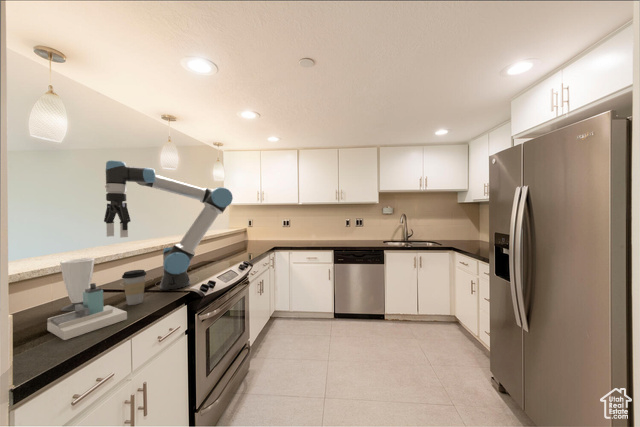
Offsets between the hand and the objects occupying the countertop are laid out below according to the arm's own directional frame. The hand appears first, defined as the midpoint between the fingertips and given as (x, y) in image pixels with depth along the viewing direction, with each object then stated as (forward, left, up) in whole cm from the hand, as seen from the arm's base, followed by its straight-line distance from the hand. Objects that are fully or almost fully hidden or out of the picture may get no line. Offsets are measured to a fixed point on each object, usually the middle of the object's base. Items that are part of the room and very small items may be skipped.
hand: (117, 236), depth 116 cm
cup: (+11, -10, -32) cm, 35 cm away
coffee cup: (-3, +9, -32) cm, 33 cm away
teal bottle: (+15, +17, -32) cm, 39 cm away
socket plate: (+17, +19, -32) cm, 41 cm away
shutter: (+22, +17, -28) cm, 39 cm away
